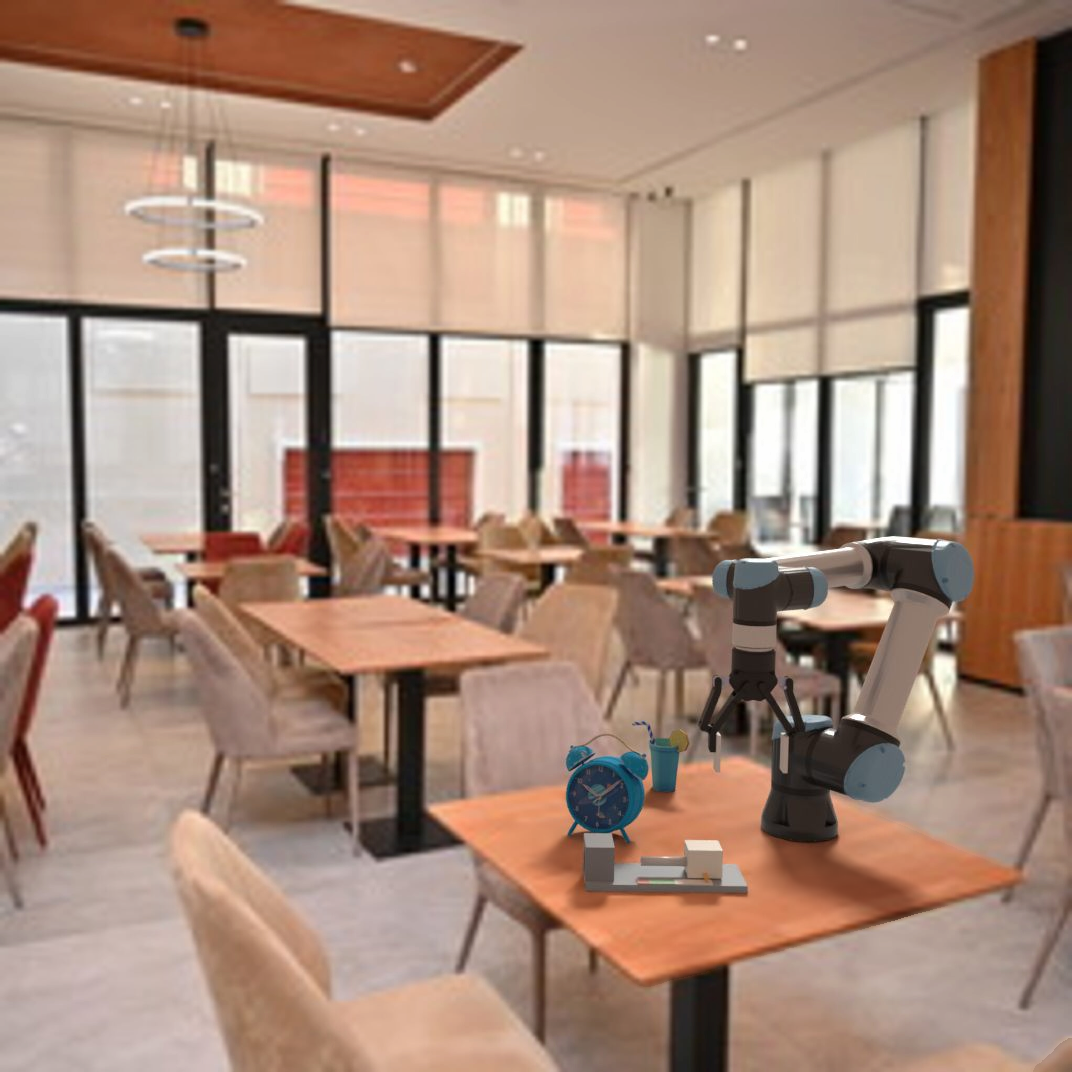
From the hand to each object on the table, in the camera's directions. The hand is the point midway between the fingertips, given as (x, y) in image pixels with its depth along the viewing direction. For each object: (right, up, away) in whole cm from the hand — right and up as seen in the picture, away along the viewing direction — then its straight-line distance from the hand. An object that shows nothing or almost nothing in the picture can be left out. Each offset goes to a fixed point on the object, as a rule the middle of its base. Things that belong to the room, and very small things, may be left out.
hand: (750, 770), depth 187 cm
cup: (-10, -16, +54) cm, 57 cm away
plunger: (-12, -18, 0) cm, 22 cm away
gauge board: (-15, -20, +1) cm, 25 cm away
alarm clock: (-24, -18, +23) cm, 38 cm away
